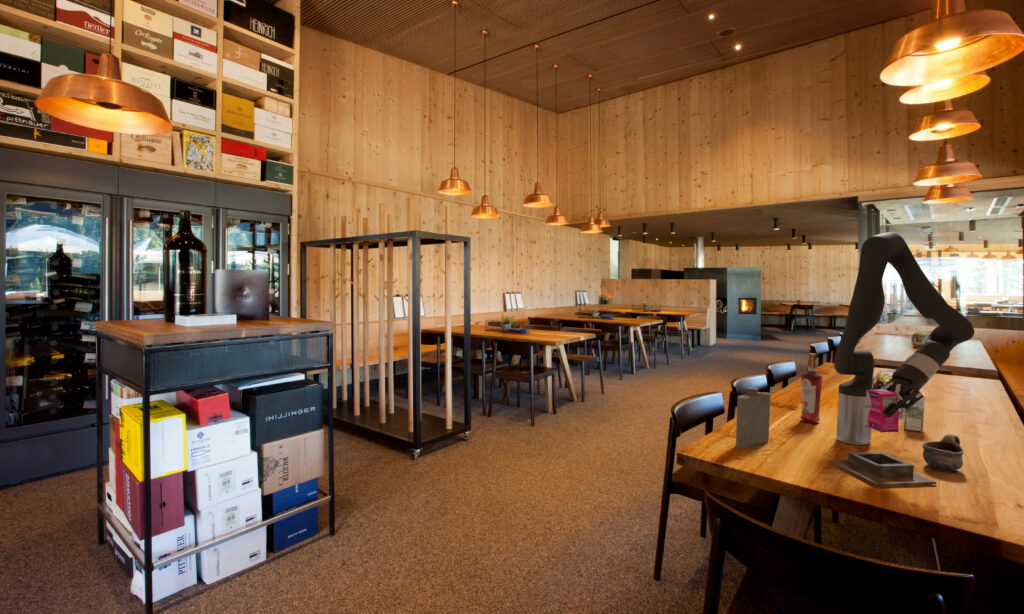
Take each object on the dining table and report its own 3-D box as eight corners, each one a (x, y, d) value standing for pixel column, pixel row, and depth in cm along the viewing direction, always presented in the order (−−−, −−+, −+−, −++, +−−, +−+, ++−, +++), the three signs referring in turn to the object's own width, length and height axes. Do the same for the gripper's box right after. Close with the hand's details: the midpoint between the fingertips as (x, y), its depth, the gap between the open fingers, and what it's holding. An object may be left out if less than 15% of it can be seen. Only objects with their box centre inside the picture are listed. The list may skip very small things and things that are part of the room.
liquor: (795, 420, 199) (798, 353, 198) (807, 418, 202) (809, 352, 201) (812, 425, 192) (815, 355, 191) (824, 423, 196) (827, 354, 194)
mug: (916, 466, 150) (917, 435, 149) (929, 458, 157) (931, 428, 156) (957, 477, 142) (959, 443, 141) (969, 468, 149) (971, 436, 148)
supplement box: (864, 426, 146) (865, 389, 145) (882, 426, 147) (884, 388, 146) (880, 432, 140) (881, 393, 140) (899, 432, 141) (900, 393, 140)
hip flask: (742, 449, 164) (744, 391, 163) (731, 445, 168) (733, 389, 167) (770, 442, 172) (772, 386, 171) (759, 438, 176) (761, 384, 174)
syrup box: (922, 429, 188) (924, 392, 187) (922, 433, 183) (924, 395, 183) (903, 426, 192) (905, 390, 191) (903, 430, 187) (905, 393, 186)
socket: (881, 461, 154) (882, 447, 154) (935, 485, 136) (936, 469, 136) (828, 463, 152) (829, 449, 152) (876, 487, 134) (877, 471, 134)
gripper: (886, 359, 150) (849, 397, 150) (930, 367, 136) (889, 409, 135) (901, 375, 151) (864, 414, 150) (947, 385, 137) (906, 428, 136)
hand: (876, 412), depth 143 cm, fingers closed on supplement box, 5 cm apart
